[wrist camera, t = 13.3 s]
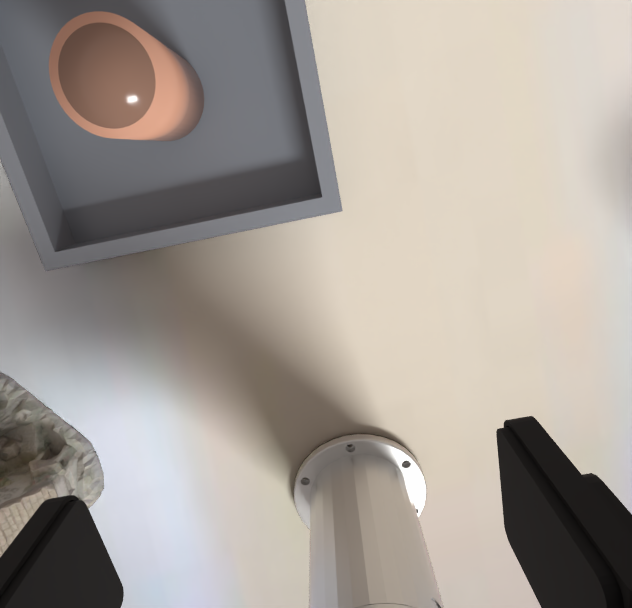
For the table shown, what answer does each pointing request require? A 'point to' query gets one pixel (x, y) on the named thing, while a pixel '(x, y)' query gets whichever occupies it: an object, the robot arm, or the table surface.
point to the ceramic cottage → (39, 460)
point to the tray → (168, 156)
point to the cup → (123, 80)
